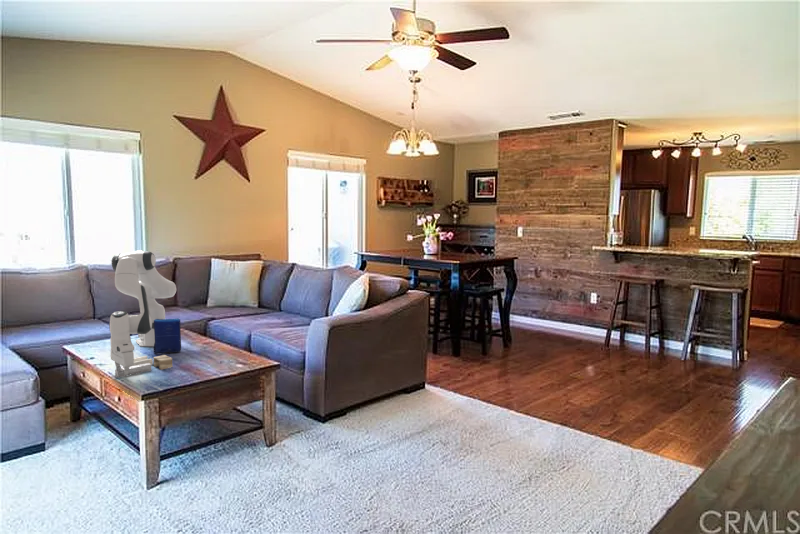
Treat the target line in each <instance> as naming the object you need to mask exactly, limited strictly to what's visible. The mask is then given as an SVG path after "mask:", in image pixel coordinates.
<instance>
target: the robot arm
mask: <svg viewBox="0 0 800 534" xmlns="http://www.w3.org/2000/svg"><path fill="white" fill-rule="evenodd" d="M155 256H156V255H155V254H154V253H153V252H152V251H147V250H142V249H138V250H134V251H132V252H131V251H130V252H125V253H117V254H115V255H113V256H112V259H111V268H112V270H113V271H114V272H115V273H114V274H115V275H114V286H115V288H116V290H117V291H118V292H120V293H122V294H123V295H127V296H130V297H133V298H135V299H137V301H138V305H139V306H138V307H139V312H140V313H139V314H129V313H128V312H127V311H125V310H118V311H114V312H113V313H111V314H110V318H109V325H108V326H109V333H110V359H111V361H113V362H114V364H115V370H116V369H121V368H122V367H123V368H124V371H123V372H124V374H125V375H127V374H128V370H129V367H131V366H133V364H134V358H135V355H134V354H135V352H134V350H135V345H134V344H133V343H132V337H131V335H136V334H137V336H138V338H139V339H138V338H137V339H135V342H136V343H137V344H139V345H138V346H139V347H154V343H155V333H154V320H155V319H166V311H165V307H164V305H162V304H160V303H158V302H157V300H156V299H168V298H173V297H174V296H175V294H176V292H177V285H176V284H175V282H173V280H172V281H171V280H169V279H167V278H166V277H164V276H163V275H162V274H160V272H158V270H157V268H156V264H157V260H156V257H155Z"/></svg>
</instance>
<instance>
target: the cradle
mask: <svg viewBox="0 0 800 534" xmlns="http://www.w3.org/2000/svg"><path fill="white" fill-rule="evenodd" d="M145 363H150V364H151V366H152V365H154V360H153V358H148V356H147V355H143V356H139V357H134V364H133V366H136V365H141V364H145Z"/></svg>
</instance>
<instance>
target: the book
mask: <svg viewBox="0 0 800 534" xmlns="http://www.w3.org/2000/svg"><path fill="white" fill-rule="evenodd" d="M181 329H182V328H181V319H180V318H165V319H155V320H154V333H155V343H154V346H153V354H155V355H157V354H160V355H161V354H162V355H166V354H176V353H181V351H182V338H181V333H182V332H181Z"/></svg>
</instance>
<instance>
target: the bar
mask: <svg viewBox="0 0 800 534" xmlns="http://www.w3.org/2000/svg"><path fill="white" fill-rule="evenodd" d="M123 371H124V367H121V369H116V368H115V370H114V375H115V377H116V378H123V377H127V376H126V375H125V374H124V372H123ZM150 371H153V370H152V365H151V364H150V363H145V364H141V365H136V366H131V367H129V370H128V374H127V375H128V376H131V375H130V374H132V375H136V373H137V374H142V373H146V372H150ZM141 372H142V373H141Z"/></svg>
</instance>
